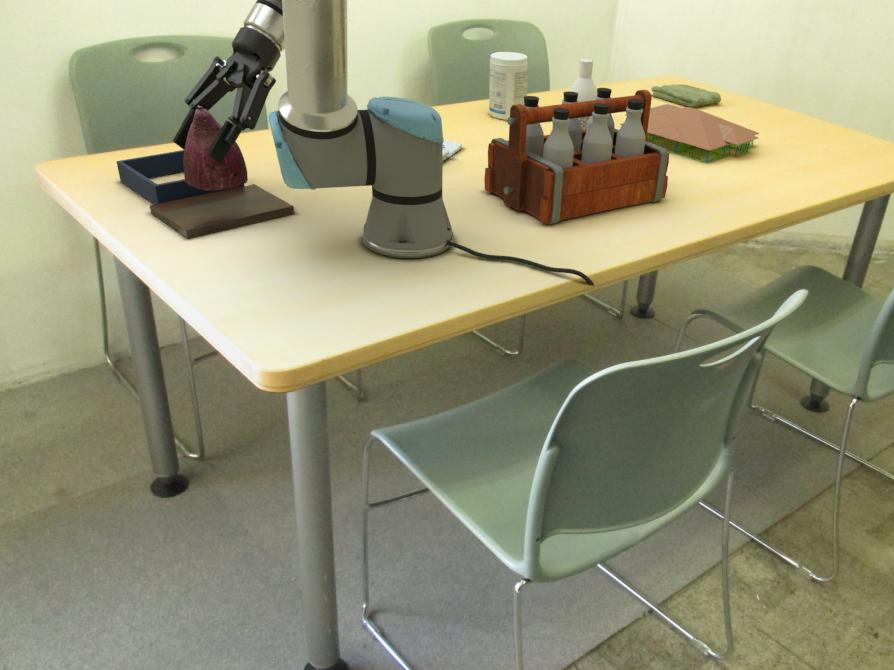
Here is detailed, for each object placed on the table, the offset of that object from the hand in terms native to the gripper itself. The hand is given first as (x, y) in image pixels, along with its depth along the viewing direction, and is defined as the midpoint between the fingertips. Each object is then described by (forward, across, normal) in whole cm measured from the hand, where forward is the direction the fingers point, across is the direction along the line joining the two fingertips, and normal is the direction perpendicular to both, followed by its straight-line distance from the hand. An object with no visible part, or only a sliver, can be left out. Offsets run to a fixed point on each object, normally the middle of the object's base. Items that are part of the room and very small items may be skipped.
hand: (196, 152), depth 143 cm
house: (-69, -38, -86) cm, 117 cm away
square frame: (+4, +16, -13) cm, 21 cm away
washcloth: (-96, -18, -114) cm, 150 cm away
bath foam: (-50, -24, -67) cm, 87 cm away
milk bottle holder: (-32, -40, -49) cm, 71 cm away
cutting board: (+6, -1, -10) cm, 12 cm away
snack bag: (-29, +1, -46) cm, 54 cm away
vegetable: (+2, 0, -6) cm, 7 cm away
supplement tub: (-58, +6, -75) cm, 95 cm away
